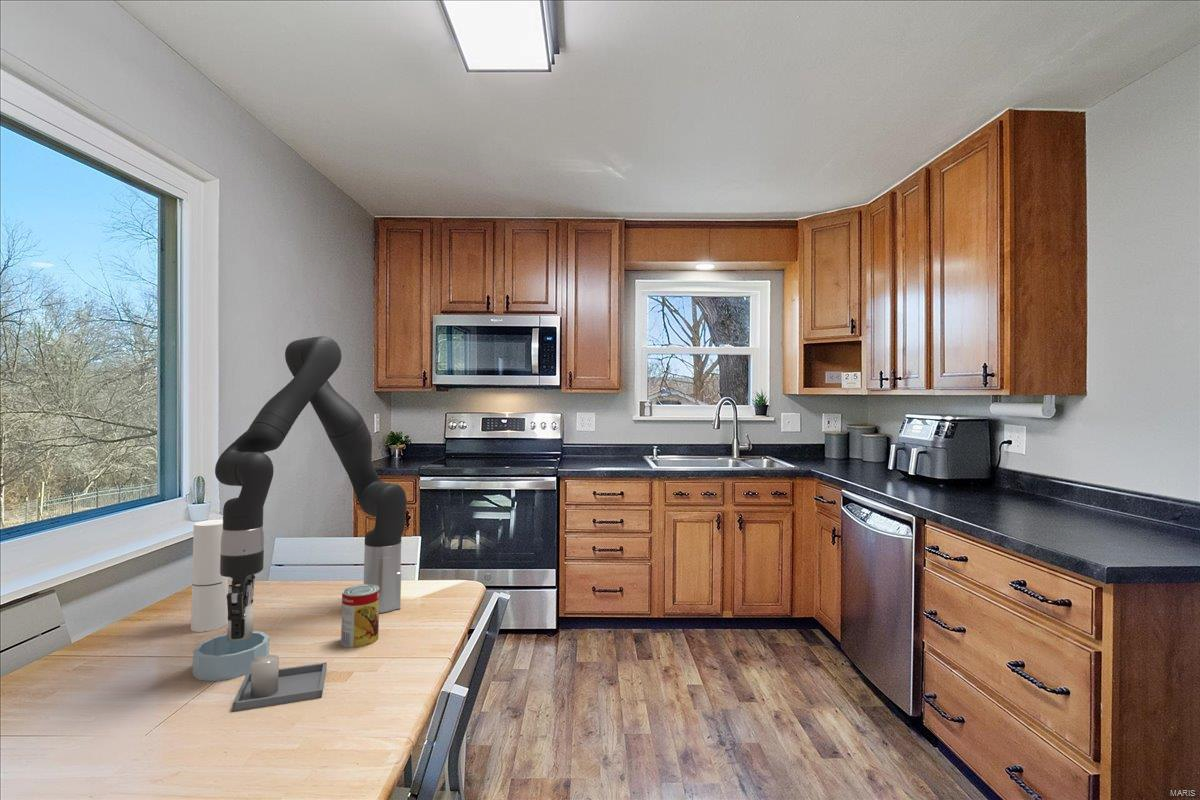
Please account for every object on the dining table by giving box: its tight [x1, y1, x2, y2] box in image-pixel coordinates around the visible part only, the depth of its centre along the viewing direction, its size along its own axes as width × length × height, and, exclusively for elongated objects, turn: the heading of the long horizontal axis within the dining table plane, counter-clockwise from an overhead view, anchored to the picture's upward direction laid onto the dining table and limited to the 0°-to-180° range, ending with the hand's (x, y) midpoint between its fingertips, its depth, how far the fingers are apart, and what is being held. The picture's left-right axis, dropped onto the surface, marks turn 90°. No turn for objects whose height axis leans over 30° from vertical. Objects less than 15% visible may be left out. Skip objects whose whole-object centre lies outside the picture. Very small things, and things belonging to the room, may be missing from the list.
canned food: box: [340, 583, 380, 648], centre depth 129 cm, size 8×8×12 cm
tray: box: [232, 661, 328, 712], centre depth 107 cm, size 14×12×2 cm
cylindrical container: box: [190, 519, 229, 633], centre depth 137 cm, size 7×7×25 cm
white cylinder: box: [251, 654, 280, 698], centre depth 105 cm, size 4×4×6 cm
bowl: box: [192, 630, 270, 682], centre depth 116 cm, size 13×13×5 cm
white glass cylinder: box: [226, 603, 254, 642], centre depth 115 cm, size 4×4×6 cm
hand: (240, 633), depth 115 cm, fingers closed on white glass cylinder, 4 cm apart
